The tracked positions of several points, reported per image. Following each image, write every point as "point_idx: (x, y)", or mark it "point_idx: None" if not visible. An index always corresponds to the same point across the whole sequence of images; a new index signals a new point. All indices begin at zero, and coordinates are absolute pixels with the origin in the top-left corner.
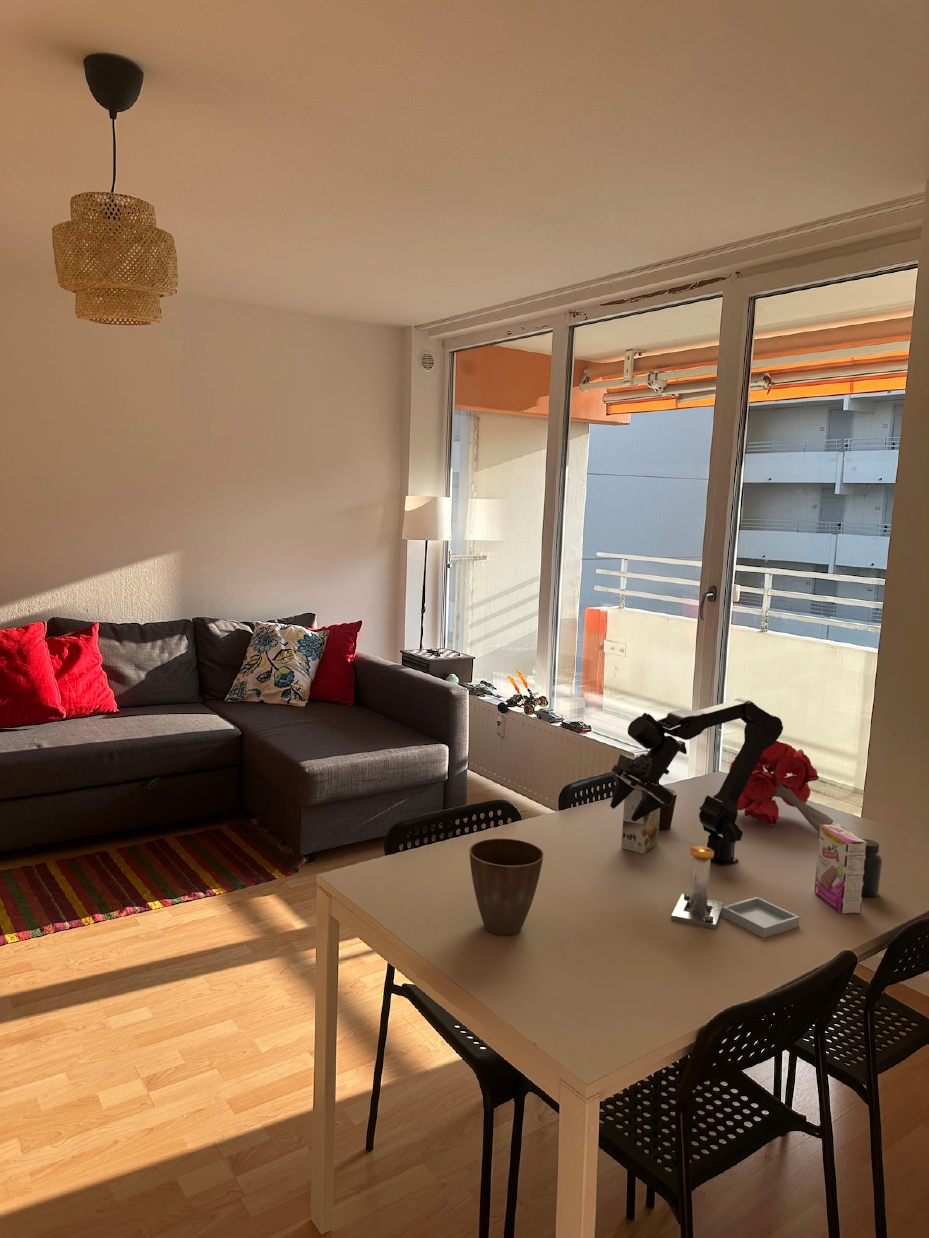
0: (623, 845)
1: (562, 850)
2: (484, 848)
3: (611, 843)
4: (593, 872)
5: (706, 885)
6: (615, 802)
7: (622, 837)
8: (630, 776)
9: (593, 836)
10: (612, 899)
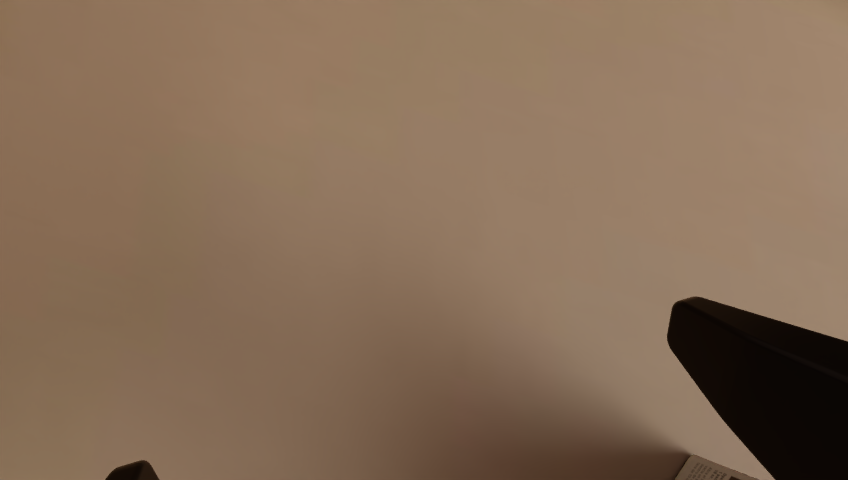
0: (695, 468)
1: (647, 147)
2: None
3: None
4: (387, 216)
5: None
6: (735, 372)
7: (734, 474)
8: None
9: None
10: (34, 210)
